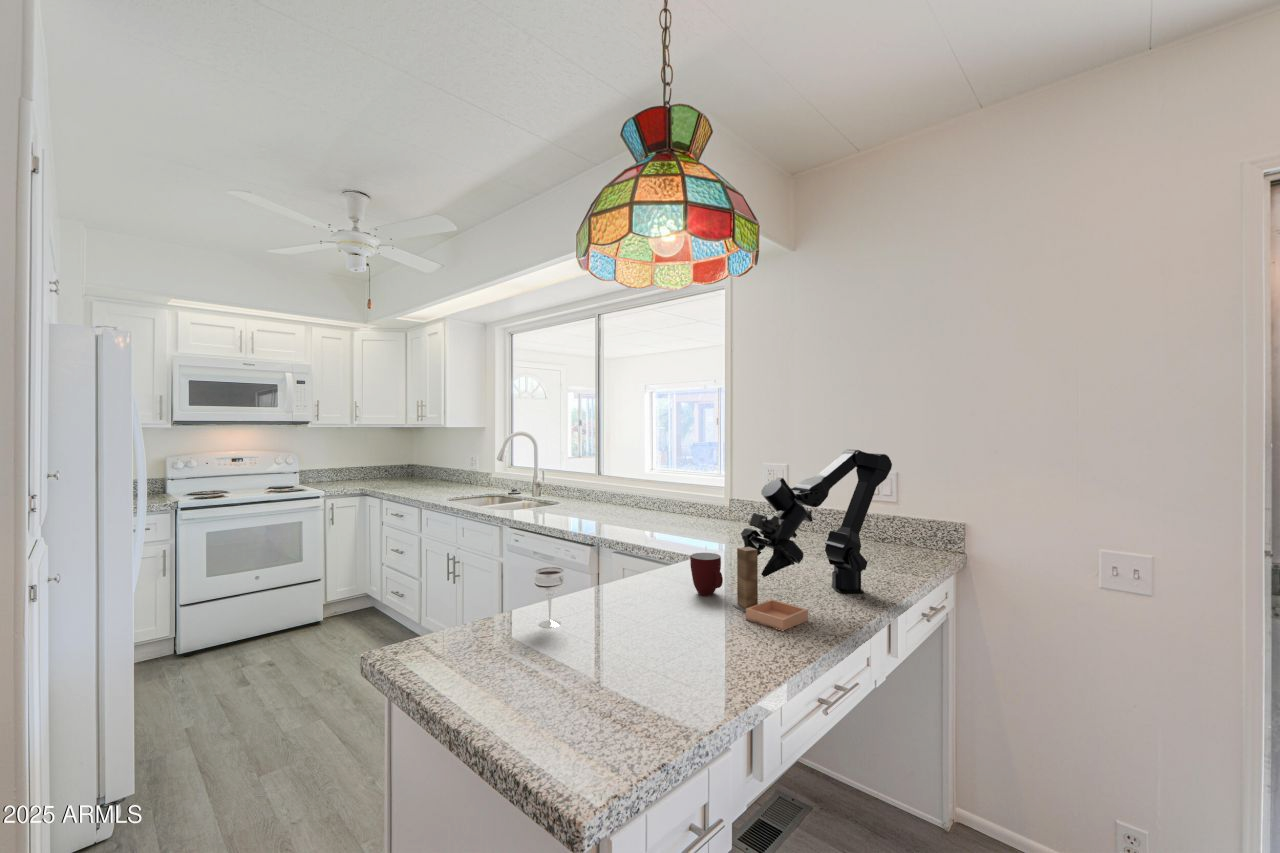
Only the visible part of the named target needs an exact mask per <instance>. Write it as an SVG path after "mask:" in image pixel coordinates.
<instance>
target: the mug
mask: <svg viewBox="0 0 1280 853" xmlns="http://www.w3.org/2000/svg"><path fill="white" fill-rule="evenodd" d="M689 561H690V562H689V563H690V565H689V566H690V571H691V572H690V573H691V576H692V583H693V585H694V588H695V590H696V591H697V594H698V595H700V596H704V597H705V596H706V597H707V596H713V595H714V594H715V592H716V590H717V589H719V588H721V587H722V585H723V581H724V579H723V574H722V571H721V569H722V568H721V567H722V556H721V555H720V554H717V553H712V552H696V553H692V554H690V560H689Z"/></svg>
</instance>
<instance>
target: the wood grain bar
mask: <svg viewBox="0 0 1280 853" xmlns="http://www.w3.org/2000/svg"><path fill="white" fill-rule="evenodd" d="M736 549H737V550H736V557H737V558H736V563H737V564H736V567H737V568H736V574H737V576H736V578H737V580H736V581H737V582H736V583H737V584H736V585H737V586H736V588H737V590H736V591H737V593H736V594H737V596H736V597H737V599H736V601H737V603H733V604H732V607H734V608H736V609H738V610H739V611H741V610H742V612H743V613H746V608H749V607H752V606H754V605H757V604H759V599H758V597H759V595H758V594H759V593H758V592H759V590H758V589H759V588H758V584H759V582H758V578H759V577H758V576H759V574H758V571H759V570H758V569H759V567H758V566H759V564H758V563H759V562H758V561H759V560H758V558H759V557H758V556H759V555H758V554H757V549H754V548H751V547H737V548H736Z"/></svg>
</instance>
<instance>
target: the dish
mask: <svg viewBox="0 0 1280 853" xmlns="http://www.w3.org/2000/svg"><path fill="white" fill-rule="evenodd" d="M745 620H747V621H749V620H750V622H752V621H753V622H752V623H755V622H756V624H758V623H759V625H762V624H763V625H762V626H765V625H766V626H765V627H768V626H770V627H769V628H771V627H773V628H772V629H774V628H777V629H780V630H786V629H788V628H790V627H792V628H794V627H793V626H795V625H797V626H799V625H800V623H801V624H803V623H806V622H808V621H809V608H808V609H807V608H803V607H801V606H797V605H793V604H789V603H786V602H782V601H778V600H775V599H772V598H771V599H767V600H765V601H763V602H760V603H758V604H757V605H754V606H752V607H749V608H746V612H745ZM807 620H808V621H807ZM805 621H806V622H805ZM798 624H799V625H798ZM795 627H796V626H795ZM777 629H776V630H777ZM790 629H791V628H790ZM780 630H779V631H780ZM788 630H789V629H788ZM786 631H787V630H786Z"/></svg>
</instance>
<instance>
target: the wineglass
mask: <svg viewBox="0 0 1280 853" xmlns="http://www.w3.org/2000/svg"><path fill="white" fill-rule="evenodd" d="M534 573H535V577H534V586H535V589H537V590H538V591H539V592H540V593H542V594H544V595H545V596H547V603H548V605H547V606H548V619H546V620H542V621H540V622H539V623H538V626H539V627H541V628H545V629H548V628H549V629H551V628H556V627H559V626H561V624H562V622H561V621H559V620H557V619H552V617H551V616H552V597H553V596H554V594H556V593H558V592H559V591H560V590H562V588H563V587H564V584H565V575H564V573H565V569H564V568H562V567H555V566H552V567H551V566H549V567H541V568H538V569H536V570H534Z"/></svg>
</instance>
